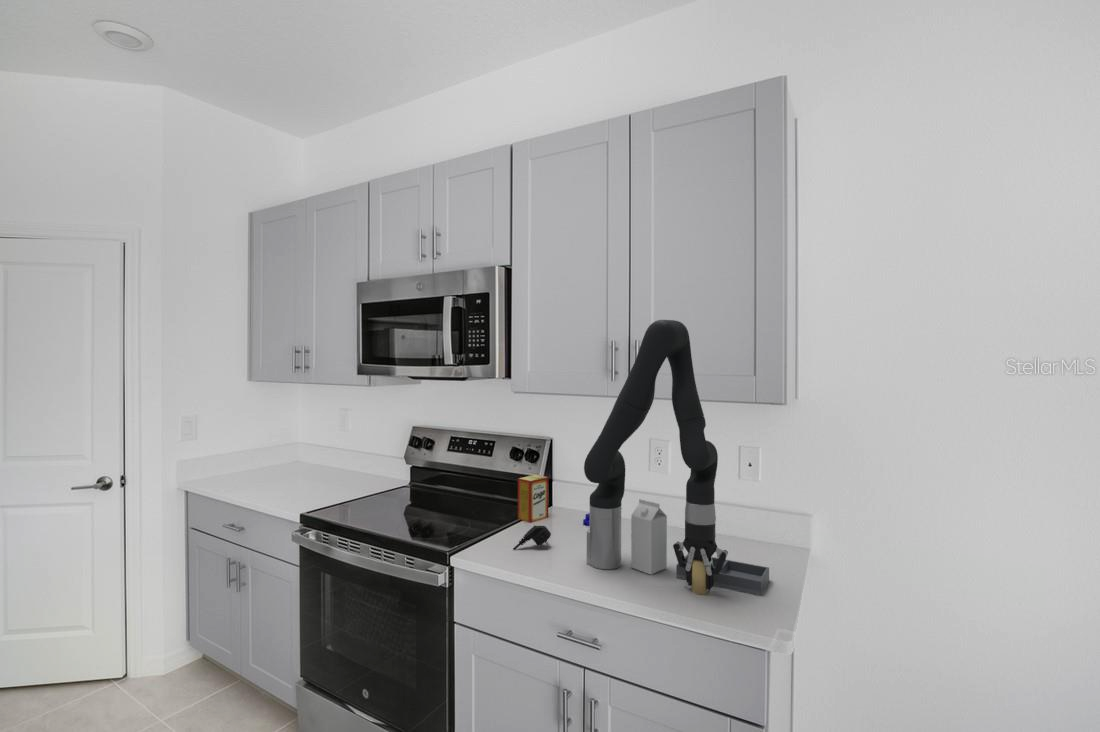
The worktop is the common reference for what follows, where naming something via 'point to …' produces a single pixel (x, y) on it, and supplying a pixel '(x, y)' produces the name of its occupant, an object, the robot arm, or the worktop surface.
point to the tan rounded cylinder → (699, 577)
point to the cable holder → (587, 520)
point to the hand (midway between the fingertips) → (699, 586)
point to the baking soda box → (532, 498)
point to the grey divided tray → (736, 576)
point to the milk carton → (648, 538)
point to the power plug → (536, 536)
